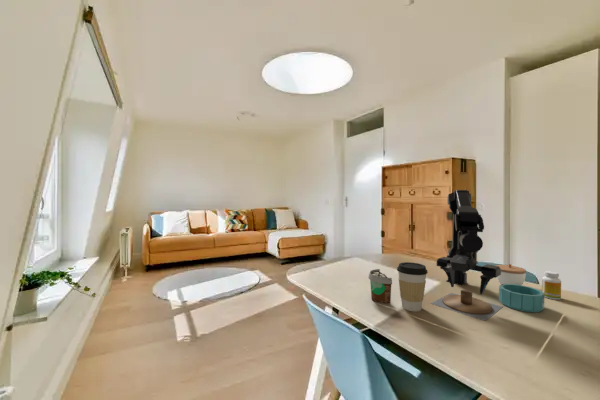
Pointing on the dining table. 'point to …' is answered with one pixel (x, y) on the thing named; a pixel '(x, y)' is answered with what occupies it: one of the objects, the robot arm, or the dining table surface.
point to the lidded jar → (511, 275)
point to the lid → (467, 303)
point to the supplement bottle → (551, 285)
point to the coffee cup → (412, 285)
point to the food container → (380, 287)
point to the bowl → (521, 297)
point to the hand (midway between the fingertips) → (466, 290)
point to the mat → (478, 316)
